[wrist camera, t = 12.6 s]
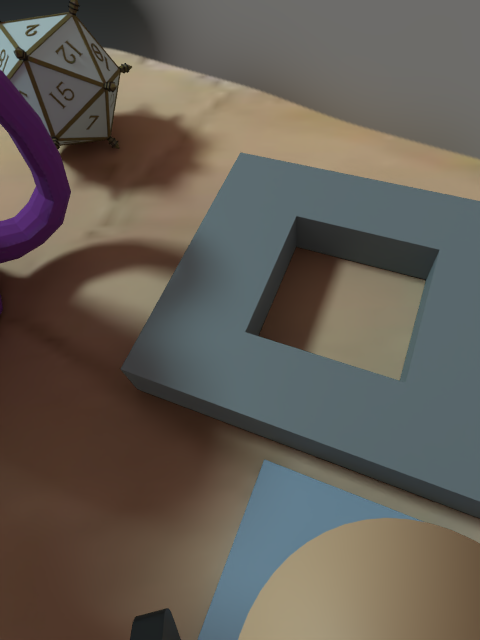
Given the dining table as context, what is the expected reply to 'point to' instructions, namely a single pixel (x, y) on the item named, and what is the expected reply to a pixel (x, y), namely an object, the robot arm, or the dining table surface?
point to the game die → (62, 75)
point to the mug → (48, 172)
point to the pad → (278, 538)
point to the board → (317, 371)
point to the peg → (373, 586)
